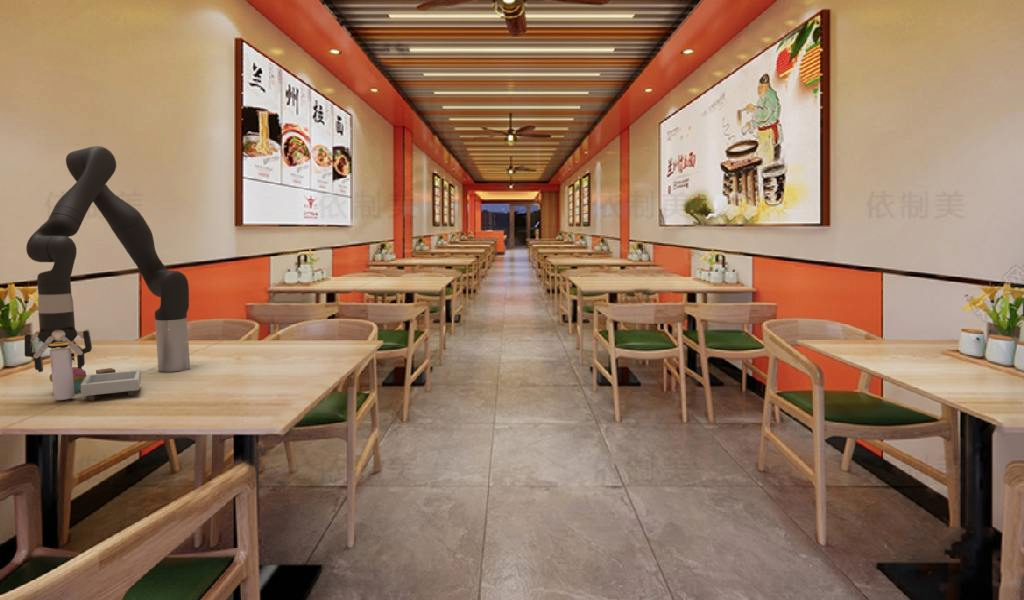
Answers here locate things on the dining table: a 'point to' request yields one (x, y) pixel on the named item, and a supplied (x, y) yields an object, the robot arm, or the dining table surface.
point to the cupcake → (76, 377)
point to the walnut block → (105, 371)
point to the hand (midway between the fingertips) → (60, 369)
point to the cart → (110, 383)
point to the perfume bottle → (61, 368)
